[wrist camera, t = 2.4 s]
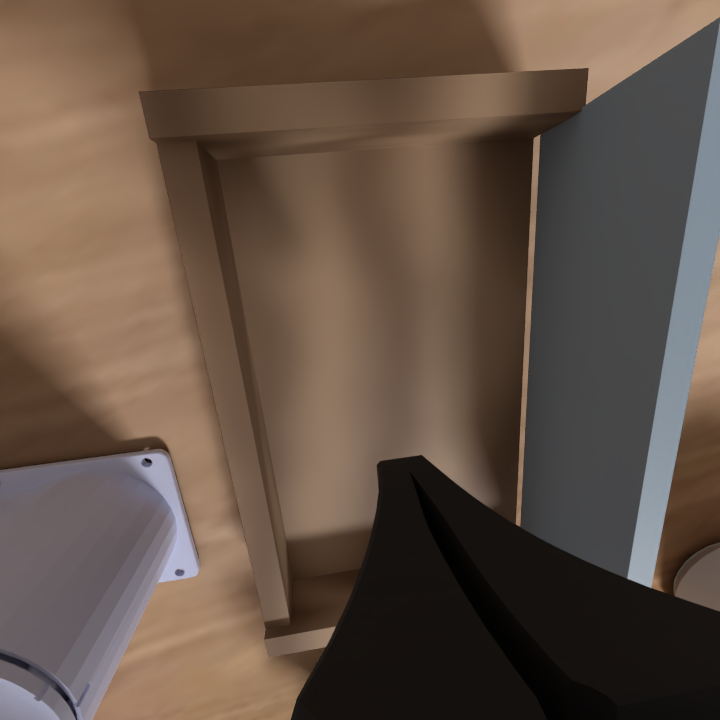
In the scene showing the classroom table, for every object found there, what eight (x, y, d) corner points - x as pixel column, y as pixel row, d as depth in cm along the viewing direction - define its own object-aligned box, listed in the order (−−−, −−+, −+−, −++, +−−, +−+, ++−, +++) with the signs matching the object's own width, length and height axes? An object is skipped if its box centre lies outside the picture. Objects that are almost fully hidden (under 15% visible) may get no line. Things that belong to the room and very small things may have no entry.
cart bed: (277, 577, 22) (268, 657, 17) (190, 138, 15) (138, 91, 11) (501, 539, 23) (544, 606, 19) (515, 117, 16) (588, 68, 12)
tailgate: (519, 542, 21) (605, 710, 13) (540, 134, 15) (721, 16, 7) (533, 542, 21) (627, 710, 13) (560, 132, 15) (762, 11, 7)
